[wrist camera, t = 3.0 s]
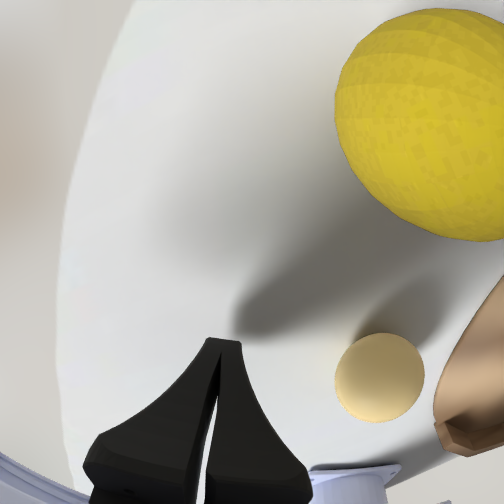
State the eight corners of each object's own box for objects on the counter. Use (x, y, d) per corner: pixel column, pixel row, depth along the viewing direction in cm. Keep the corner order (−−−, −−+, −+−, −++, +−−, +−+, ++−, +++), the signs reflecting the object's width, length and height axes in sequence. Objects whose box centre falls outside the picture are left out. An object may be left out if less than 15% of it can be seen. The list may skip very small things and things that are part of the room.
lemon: (455, 74, 9) (621, 69, 1) (433, 205, 11) (579, 312, 3) (323, 30, 9) (419, -103, 1) (301, 177, 11) (375, 299, 3)
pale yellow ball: (389, 378, 14) (410, 436, 11) (319, 376, 14) (329, 442, 11) (419, 317, 13) (454, 375, 9) (342, 311, 13) (364, 377, 9)
